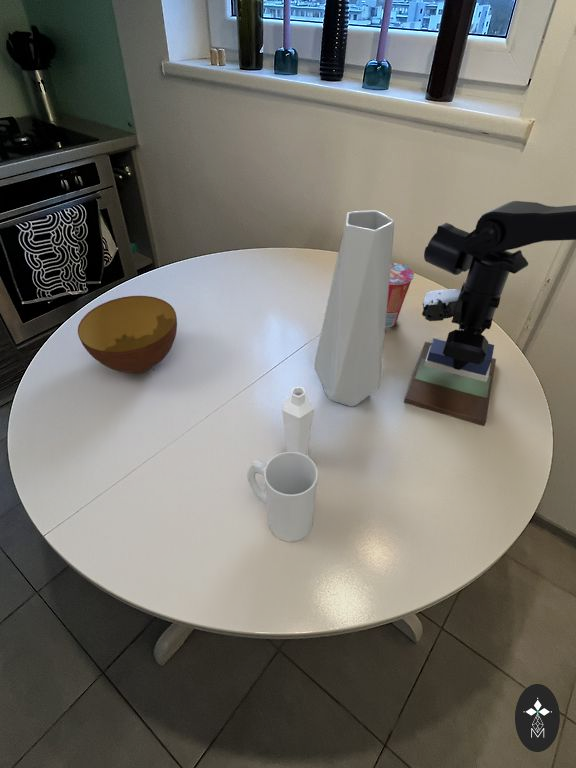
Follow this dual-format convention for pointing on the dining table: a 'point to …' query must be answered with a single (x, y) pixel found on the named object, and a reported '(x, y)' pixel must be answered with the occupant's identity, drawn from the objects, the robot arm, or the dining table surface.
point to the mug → (287, 493)
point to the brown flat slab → (449, 391)
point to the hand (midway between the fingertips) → (458, 360)
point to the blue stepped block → (447, 364)
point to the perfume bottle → (297, 420)
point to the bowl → (129, 332)
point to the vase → (356, 309)
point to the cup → (397, 291)
